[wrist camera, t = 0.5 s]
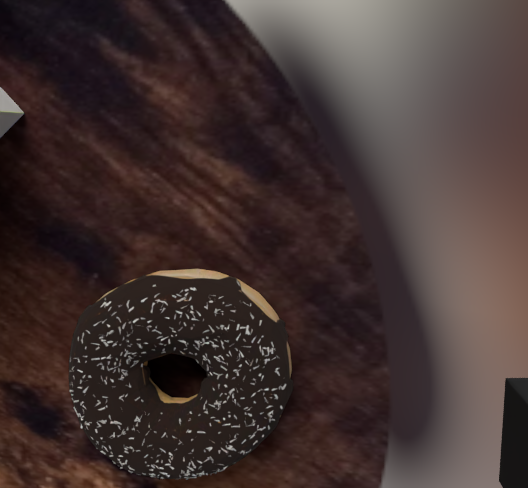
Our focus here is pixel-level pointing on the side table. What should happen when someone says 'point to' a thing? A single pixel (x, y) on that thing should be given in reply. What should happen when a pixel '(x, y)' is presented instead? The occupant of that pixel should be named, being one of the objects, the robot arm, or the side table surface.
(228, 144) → the side table surface
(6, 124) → the puzzle toy
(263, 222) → the side table surface
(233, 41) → the side table surface
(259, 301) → the donut
